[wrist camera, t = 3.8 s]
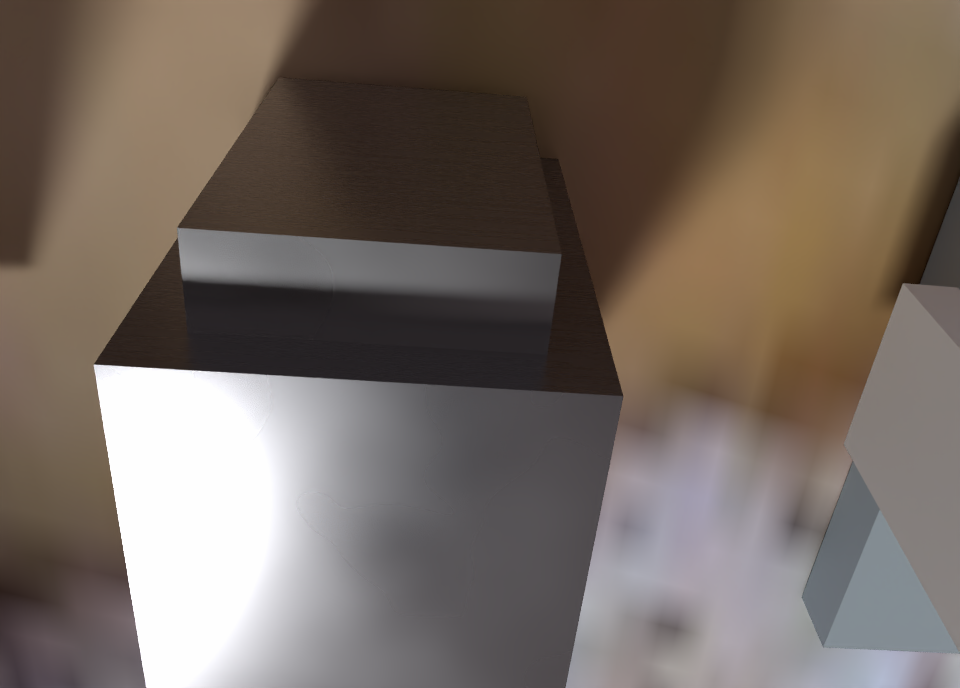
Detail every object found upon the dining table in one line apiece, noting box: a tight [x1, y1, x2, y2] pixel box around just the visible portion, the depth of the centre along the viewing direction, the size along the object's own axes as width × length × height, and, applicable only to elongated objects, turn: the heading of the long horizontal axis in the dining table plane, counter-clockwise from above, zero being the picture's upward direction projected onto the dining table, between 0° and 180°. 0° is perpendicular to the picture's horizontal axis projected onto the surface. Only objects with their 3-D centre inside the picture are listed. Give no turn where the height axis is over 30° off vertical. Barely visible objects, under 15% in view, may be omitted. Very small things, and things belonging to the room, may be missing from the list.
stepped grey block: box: [94, 78, 623, 688], centre depth 11 cm, size 7×4×6 cm
